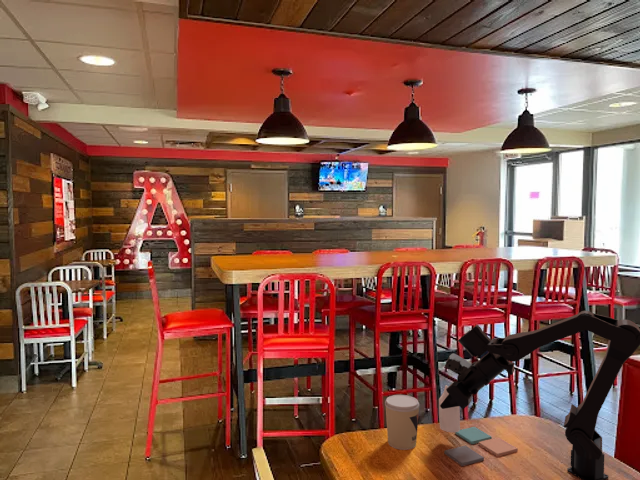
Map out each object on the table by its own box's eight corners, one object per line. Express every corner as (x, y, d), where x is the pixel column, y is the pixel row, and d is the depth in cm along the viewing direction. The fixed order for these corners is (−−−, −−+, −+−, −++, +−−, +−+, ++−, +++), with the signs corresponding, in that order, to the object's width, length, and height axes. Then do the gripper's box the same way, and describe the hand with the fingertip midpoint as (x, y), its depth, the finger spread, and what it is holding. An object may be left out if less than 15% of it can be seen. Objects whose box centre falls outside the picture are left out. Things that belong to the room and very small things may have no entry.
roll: (463, 388, 130) (444, 390, 129) (463, 431, 130) (444, 433, 129) (453, 380, 136) (434, 382, 135) (453, 422, 136) (435, 424, 135)
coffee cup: (419, 452, 127) (419, 408, 127) (383, 449, 129) (383, 406, 129) (419, 436, 137) (419, 395, 136) (386, 434, 139) (386, 393, 138)
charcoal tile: (483, 460, 123) (483, 457, 123) (461, 466, 121) (461, 463, 121) (465, 448, 130) (465, 445, 130) (444, 453, 127) (444, 450, 127)
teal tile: (491, 439, 135) (491, 436, 135) (471, 444, 132) (471, 441, 132) (474, 429, 141) (474, 426, 141) (455, 433, 138) (455, 431, 138)
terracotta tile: (517, 451, 128) (517, 448, 128) (497, 456, 125) (497, 453, 125) (498, 440, 134) (498, 437, 134) (478, 444, 132) (478, 442, 132)
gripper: (471, 338, 138) (434, 370, 144) (454, 355, 122) (412, 390, 128) (500, 369, 134) (460, 401, 140) (486, 391, 118) (442, 425, 124)
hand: (444, 403), depth 133 cm, fingers closed on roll, 6 cm apart
